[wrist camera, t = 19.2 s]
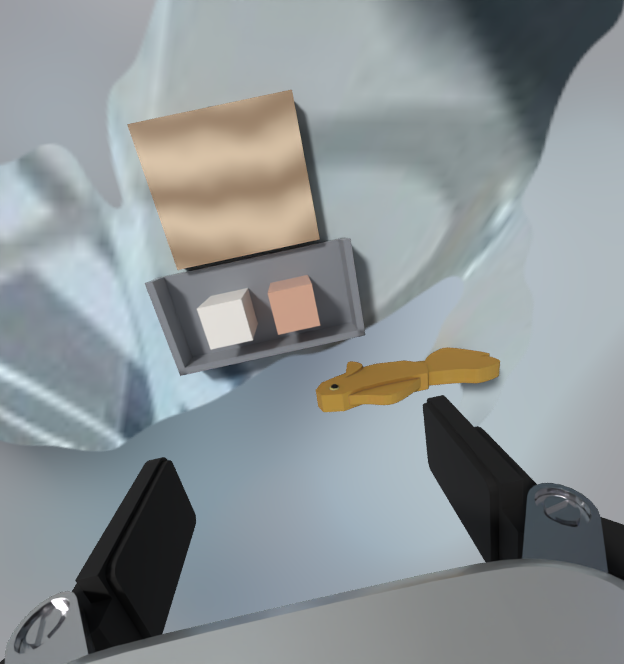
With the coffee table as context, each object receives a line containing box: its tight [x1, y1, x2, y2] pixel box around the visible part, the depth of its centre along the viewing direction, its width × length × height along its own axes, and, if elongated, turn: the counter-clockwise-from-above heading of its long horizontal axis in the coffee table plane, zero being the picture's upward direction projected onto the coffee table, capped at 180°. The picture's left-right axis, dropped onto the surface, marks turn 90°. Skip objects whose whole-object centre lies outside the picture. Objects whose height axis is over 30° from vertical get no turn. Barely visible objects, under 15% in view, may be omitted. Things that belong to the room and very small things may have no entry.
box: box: [145, 238, 365, 376], centre depth 36 cm, size 11×22×4 cm, turn 102°
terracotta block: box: [268, 275, 320, 335], centre depth 34 cm, size 4×4×6 cm
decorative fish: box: [316, 348, 500, 412], centre depth 39 cm, size 22×3×10 cm, turn 98°
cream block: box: [197, 288, 258, 350], centre depth 34 cm, size 4×4×6 cm
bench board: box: [127, 90, 320, 270], centre depth 33 cm, size 14×16×2 cm
